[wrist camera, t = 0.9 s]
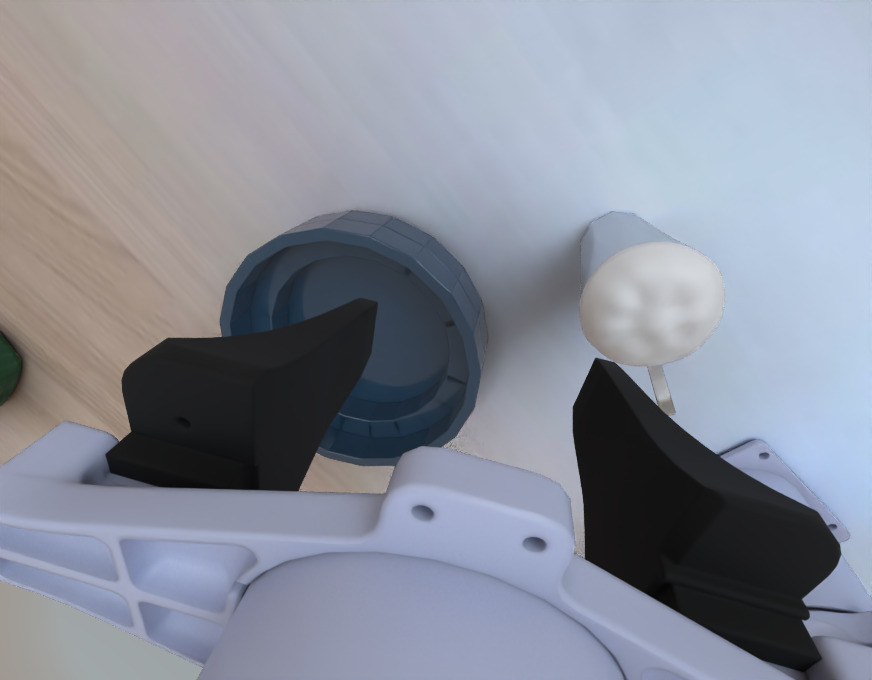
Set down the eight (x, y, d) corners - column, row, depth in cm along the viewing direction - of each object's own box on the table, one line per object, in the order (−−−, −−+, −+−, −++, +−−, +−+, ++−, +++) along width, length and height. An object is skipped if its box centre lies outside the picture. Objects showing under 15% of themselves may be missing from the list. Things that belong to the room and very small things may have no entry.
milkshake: (575, 306, 24) (596, 422, 15) (560, 208, 22) (575, 278, 13) (667, 292, 23) (747, 409, 14) (661, 186, 20) (752, 246, 12)
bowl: (539, 335, 25) (539, 377, 21) (388, 451, 32) (367, 500, 28) (350, 150, 22) (311, 160, 19) (228, 319, 29) (180, 353, 25)
